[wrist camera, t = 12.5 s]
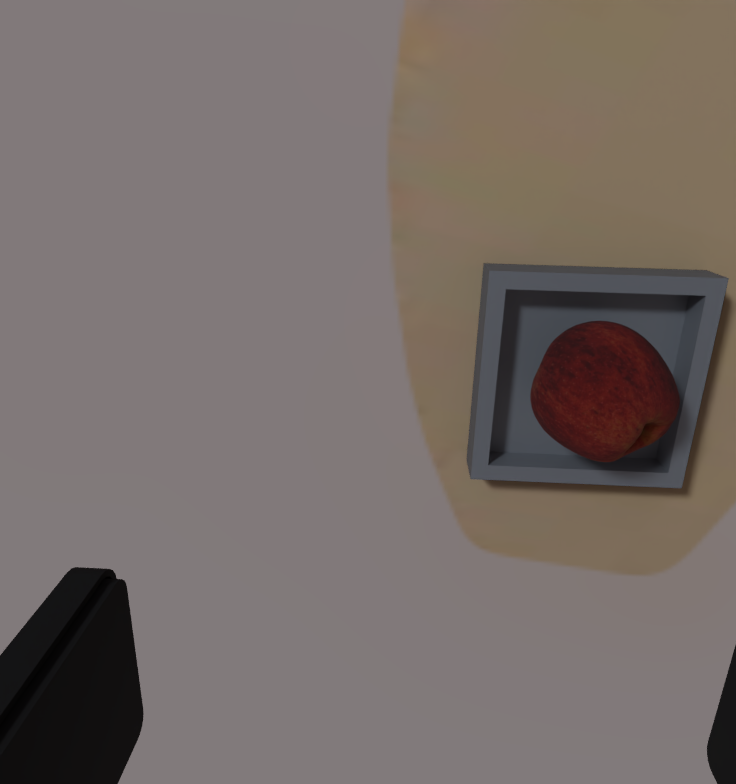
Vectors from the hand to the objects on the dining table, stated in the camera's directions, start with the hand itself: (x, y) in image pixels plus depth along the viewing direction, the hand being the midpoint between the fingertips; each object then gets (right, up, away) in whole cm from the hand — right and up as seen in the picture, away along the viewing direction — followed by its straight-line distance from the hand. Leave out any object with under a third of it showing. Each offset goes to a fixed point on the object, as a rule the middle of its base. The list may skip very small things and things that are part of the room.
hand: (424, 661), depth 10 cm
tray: (+12, +5, +30) cm, 33 cm away
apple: (+12, +6, +29) cm, 32 cm away
